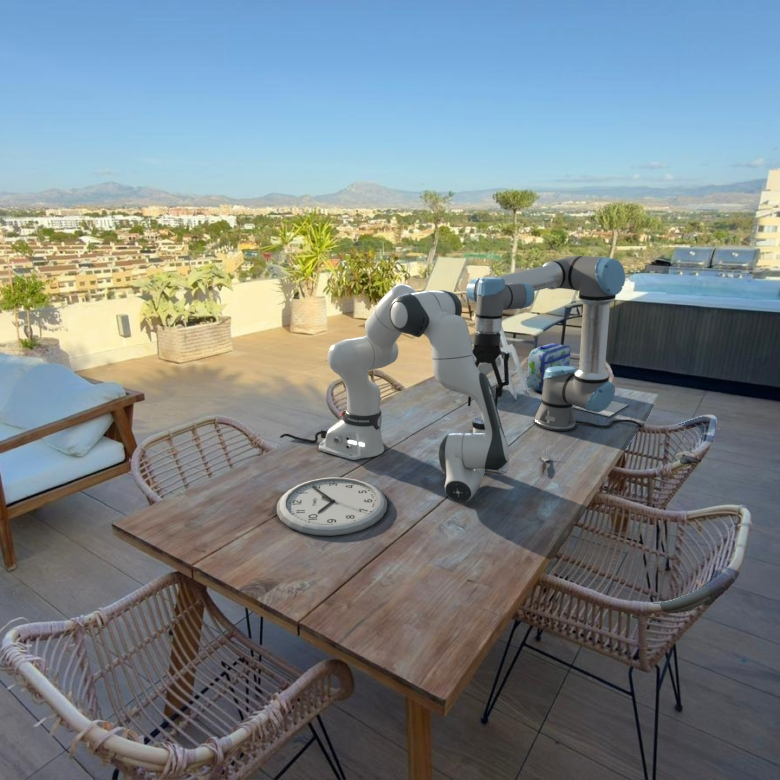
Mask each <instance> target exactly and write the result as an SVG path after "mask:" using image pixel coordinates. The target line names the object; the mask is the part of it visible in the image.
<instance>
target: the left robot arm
mask: <svg viewBox="0 0 780 780" xmlns="http://www.w3.org/2000/svg"><path fill="white" fill-rule="evenodd" d="M462 312H463V306H462V302H461V299H460V297H459V296H458V295H457V294H456V293H454V292H452V291H448V290H443V289H442V290H424V291H423V290H422V291H419V292H417V291H416V290H415V289H414V288H413V287H411V286H410V285H408V284H396V285H394V286H393V287H392V288H391V289H390V290H389V291H387V292H386V293H385V294H384V296H382V298H381V299H380V300H379V301H378V303H377V304H376V306H375V307H374V309H373V310H372V312H371V313H370V314H369V316H368V317H367V318H366V320H365V323H364V331H365V335H364V336H361V337H353V338H348V339H343V340H340V341H338V342H335V343H333V344H331V345H330V347H329V349H328V351H327V357H326V359H327V364H328V366H329V367H330V369H331V370H332V372H334V373H335V374H336V375H338V376H339V378H341V379H342V382H343V383H344V386H345V392H346V393H345V394H346V407H345V409H343V410H342V412H341V413H340V415H339V417H340V418H341V419H340V420H339V421H337V422H336V423H334V424H333V425H331V426H324V427H323V428H322V429H321V430H320V431H317V432H316V433H315V434H314V439H309V438H304V437H300V438H299V436H296V435H293V434H289V433H283V434H281V435H280V436H279V438H281V439H282V438H284V437H288V438H291V439H294V440H298V441H300V442H305V443H306V442H307V443H310V444H314V443H317V442H318V441H319V437H318V436H319V435H320V438H321V439H322V440H321V441H320V443H319V444H318V451H319V452H323V453H327V454H330V455H334V456H336V457H341V458H344V459H348V460H352V461H356V460H360V459H366V458H367V459H368V458H371V457H372V458H373V457H377V456H379V455H381V454H382V453H384V452H385V445H384V442H383V437H382V428H381V427H382V421H383V416H382V409H381V389H380V387H379V386H378V384H377V383H375V382H374V381H372V380H370V377H369V371H373V370H378V369H383V368H385V367H387V366H389V365H391V364H393V363H395V362H396V361H397V359H398V356H399V345H398V343H397V341H398V339H399V338H400V337H401V336H402V334H406V335H411V336H413V337H416V338H420V337H422V336H425V337H426V338H427V339H428V340H429V344H430V354H431V367H432V371H433V376H434V378H435V379H436V381H437V382H438V383H439V384H440V385H442V387H444V388H446V389H448V390H450V391H453V392H456V393H459V394H462V395H465V396H467V397H468V396H469V397H471V400H474V401H475V403H476V404H477V405H478V408H479V411H480V415H481V418H482V419H483V423H484V427H485V430H486V432H485V433H473V432H450V433H447V434H446V435H445V436H444V437H443V439H442V441H441V442H440V444H439V448H438V461H439V465H440V468H441V474H444V475H445V483H444V491H445V494H446V496H447V497H448V498H449V499H450V500H452V501H453V502H458V503H465V502H468V501H470V500H472V498H474V496H475V495H476V493H477V491H478V490H479V487H480V486H481V482H482V481H483V479H484V476H485V475H486V474H489V475H495V476H502V475H504V474H507V473H508V470H509V467H510V447H509V443H508V441H507V437H506V435H505V432H504V429H503V426H502V421H501V418H500V414H499V410H498V405H497V406H496V403H495V394H494V392H493V389H492V386H491V383H490V380H489V378H488V376H487V375H485V374H483V373H481V372H480V371H479V370H478V368H477V367H476V365H475V362H474V358H473V350H472V347H473V343H472V339H471V338H472V337H471V333H470V330H469V325H468V323H467V320H466V319H465V318H463V316H462Z"/></svg>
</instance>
